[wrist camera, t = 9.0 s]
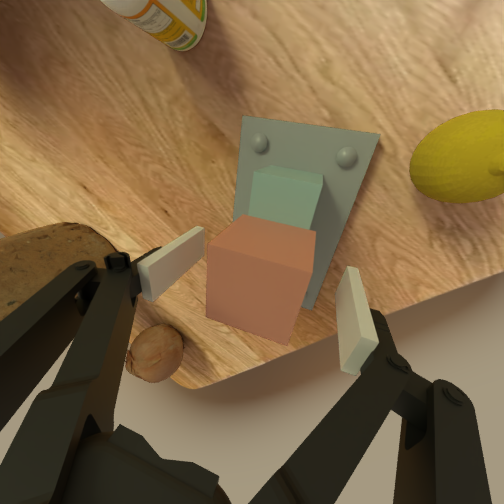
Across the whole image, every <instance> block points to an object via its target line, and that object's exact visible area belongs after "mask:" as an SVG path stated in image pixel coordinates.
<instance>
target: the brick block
mask: <svg viewBox="0 0 504 504" xmlns="http://www.w3.org/2000/svg"><path fill="white" fill-rule="evenodd" d="M315 239H316V231H312V230H308V229H303V228H299V227H295V226H291V225H287V224H282V223H278V222H274V221H270V220H265V219H261V218H257V217H253V216H248V215H244V214H242V215H241V216H240V217H239V218H238V219H236V220H235V221H234V222H233V223H232V224H230V225H229V226H228V227H227V228H226V229H225V230H223V231H222V232H221V233H220V234H219V235H217V236H216V237H215V238H214V239H213V240H211V241H210V242H209V243H208V245H207V284H206V317H207V318H210V319H212V320H215V321H218V322H221V323H224V324H226V325H229V326H232V327H235V328H238V329H240V330H243V331H246V332H249V333H252V334H254V335H257V336H260V337H263V338H266V339H268V340H271V341H274V342H277V343H280V344H282V345H285V346H288V343H289V340H290V337H291V334H292V331H293V328H294V325H295V322H296V320H297V317H298V314H299V311H300V308H301V305H302V302H303V299H304V296H305V293H306V291H307V288H308V285H309V282H310V279H311V276H312V273H313V262H314V250H315Z"/></svg>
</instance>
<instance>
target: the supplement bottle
mask: <svg viewBox="0 0 504 504" xmlns="http://www.w3.org/2000/svg"><path fill="white" fill-rule="evenodd" d="M100 1H101V2H102V3H103V4H104V5H106V6H107V7H108V8H110V9H111V10H112V11H114V12H115V13H117V14H118V15H120V16H122V17H123V18H125V19H126V20H128V21H129V22H131V23H133V24H134V25H136V26H137V27H139V28H140V29H142V30H144V31H145V32H147V33H148V34H150V35H151V36H153V37H155V38H156V39H158V40H159V41H161V42H162V43H164V44H165V45H167V46H169V47H170V48H172V49H174V50H177V51H187V50H190V49H191V48H193V47H194V46H195V45H196V44H197V43H198V42H199V40H200V39H201V37H202V35H203V32H204V29H205V25H206V20H207V0H100Z"/></svg>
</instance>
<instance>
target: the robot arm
mask: <svg viewBox="0 0 504 504" xmlns="http://www.w3.org/2000/svg"><path fill="white" fill-rule="evenodd" d="M204 241H205V228H203V227H200V226H196V227H194V228H192V229H191V230H189V231H188V232H186V233H184V234H183V235H181V236H180V237H178V238H176V239H175V240H173V241H172V242H170V243H168V244H167V245H165V246H164V247H157V248H154V249H152V250H150V251H149V252H148V253H145V254H144V255H142V256H140V257H139V258H137V259H135V260H134V261H132V262H131V261H130V256H129V254H128V253H125V252H114V253H110V254H108V255H106V256H105V257H104V258H103V259H104V262H105V266H106V269H105V268H97V266H96V263H95V262H94V261H91V260H82V261H78V262H76V263H73V264H72V265H70V266H69V267H67V268H66V269H65V270H64V271H63V272H61V273H60V274H59V275H58V276H56V277H55V278H54V279H53V280H51V281H50V282H49V283H48V284H46V285H45V286H44V287H43V288H41V289H40V290H39V291H38V292H36V293H35V294H34V295H33V296H31V297H30V298H29V299H28V300H26V301H25V302H24V303H23V304H21V305H20V306H19V307H18V308H16V309H15V310H14V311H13V312H11V313H10V314H9V315H8V316H7V317H5V318H4V319H3V320H2V321H0V431H1V430H2V429H3V427H4V426H5V425H6V424H7V423H8V421H9V420H10V419H11V417H12V416H13V415H14V414H15V412H16V411H17V410H18V409H19V407H20V406H21V405H22V403H23V402H24V401H25V400H26V398H27V397H28V396H29V395H30V393H31V392H32V391H33V389H34V388H35V387H36V386H37V384H38V383H39V382H40V381H41V379H42V378H43V377H44V375H45V374H46V373H47V372H48V370H49V369H50V368H51V367H52V365H53V364H54V363H55V361H56V360H57V359H58V358H59V356H60V355H61V354H62V353H63V351H64V350H65V348H66V347H67V346H68V345H69V344H70V342H71V341H72V340H73V339H74V340H73V342H72V344H71V346H70V348H69V350H68V352H67V355H66V357H65V359H64V361H63V363H62V365H61V367H60V369H59V372H58V374H57V376H56V378H55V380H54V382H53V384H52V386H51V387H50V388H49V389H47V390H43V391H41V392H40V393H39V394H38V395H37V396H36V398H35V399H34V401H33V403H32V404H31V406H30V409H29V410H28V412H27V414H26V416H25V418H24V420H23V422H22V424H21V426H20V428H19V430H18V432H17V434H16V436H15V438H14V439H13V441H12V443H11V446H10V448H9V449H8V451H7V453H6V455H5V457H4V459H3V461H2V463H1V465H0V504H231V502H230V500H229V498H228V496H227V495H226V493H225V492H224V490H223V489H222V488H221V487H220V486H219V484H218V480H219V476H218V475H216V474H214V473H212V472H210V471H208V470H207V469H204V468H203V467H201V466H199V465H197V464H195V463H193V462H185V461H176V460H167V459H162V458H160V457H159V455H158V454H157V453H156V452H155V451H154V450H153V448H152V447H151V446H150V445H149V443H148V442H147V441H146V440H145V439H144V437H143V436H142V435H140V434H138V433H136V432H134V431H132V430H130V429H128V428H126V427H124V426H122V425H121V424H119V426H118V427H117V429H116V430H115V431H113V429H114V408H115V404H116V399H117V394H118V390H119V385H120V381H121V376H122V371H123V366H124V362H125V357H126V353H127V348H128V343H129V339H130V334H131V329H132V325H133V320H134V315H135V311H136V306H137V301H138V297H137V295H138V294H139V293H141V292H142V296H143V299H146V300H148V301H151V302H154V301H155V300H156V299H157V298H158V297H159V296H160V295H161V294H162V293H164V292H165V291H166V290H167V289H168V288H169V287H170V286H171V285H172V284H173V283H174V282H176V281H177V280H178V279H179V278H180V277H181V276H182V275H183V274H184V273H185V272H187V271H188V270H189V269H190V268H191V267H192V266H193V265H194V264H195V263H196V262H197V261H199V260H200V259H201V258H202V257H203V256H204ZM76 294H78V296H77V297H76V298H75V296H76ZM335 303H336V317H337V330H338V341H339V342H338V343H339V356H340V369H341V371H343V372H346V373H349V374H352V375H354V376H356V375H357V373H358V372H359V371H361V375H360V376H359V378H358V379H357V380H356V381H355V382H354V383H353V385H352V386H351V387H350V388H349V389H348V390H347V392H346V393H345V394H344V395H343V396H342V397H341V398H340V400H339V401H338V402H337V403H336V404H335V405H334V407H333V408H332V409H331V410H330V411H329V412H328V414H327V415H326V416H325V417H324V418H323V419H322V421H321V422H320V423H319V424H318V425H317V426H316V428H315V429H314V430H313V431H312V432H311V434H310V435H309V436H308V437H307V438H306V439H305V440H304V442H303V443H302V444H301V445H300V446H299V447H298V448H297V450H296V451H295V452H294V453H293V454H292V455H291V457H290V458H289V459H288V460H287V461H286V463H285V464H284V465H283V466H282V467H281V468H280V469H278V470H277V471H276V472H275V474H274V475H273V476H272V477H271V478H270V479H269V480H268V481H267V483H266V484H265V485H264V486H263V487H262V488H261V490H260V491H259V492H258V493H257V494H256V495H255V496H254V498H253V499H252V500H251V501H250V502H249V503H248V504H334V503H335V501H336V500H337V498H338V496H339V495H340V493H341V492H342V490H343V488H344V487H345V485H346V483H347V482H348V480H349V478H350V477H351V475H352V473H353V472H354V470H355V468H356V467H357V465H358V464H359V462H360V460H361V459H362V457H363V455H364V454H365V452H366V450H367V448H368V447H369V445H370V443H371V442H372V440H373V438H374V437H375V435H376V434H377V432H378V430H379V429H380V427H381V425H382V424H383V422H384V420H385V418H386V417H387V415H388V414H389V412H390V410H393V411H394V412H395V413H397V414H398V415H400V416H401V417H402V424H401V434H400V443H399V452H398V461H397V471H396V480H395V490H394V499H393V504H492V501H491V496H490V490H489V485H488V479H487V474H486V468H485V463H484V457H483V452H482V447H481V441H480V436H479V430H478V425H477V419H476V415H475V409H474V406H473V404H472V402H471V400H470V399H469V398H468V396H467V395H466V394H465V393H464V392H463V391H462V390H460V389H459V388H458V387H456V386H455V385H454V384H452V383H450V382H448V381H446V380H441V379H438V380H435V381H434V382H433V383H431V382H430V381H428V380H426V379H425V378H422V377H421V376H419V375H418V374H416V373H414V372H413V371H412V369H411V366H410V365H409V363H408V362H407V360H405V359H404V358H403V357H402V356H401V355H399V354H398V353H397V350H396V347H395V344H394V342H393V339H392V336H391V333H390V330H389V327H388V325H387V322H386V319H385V317H384V316H383V315H382V314H381V313H380V311H377V310H374V309H370V308H369V305H368V301H367V298H366V294H365V291H364V287H363V284H362V280H361V277H360V273H359V270H358V268H355V267H351V266H347V267H346V269H345V272H344V274H343V276H342V278H341V281H340V283H339V285H338V287H337V290H336V292H335ZM74 337H75V338H74Z"/></svg>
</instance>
